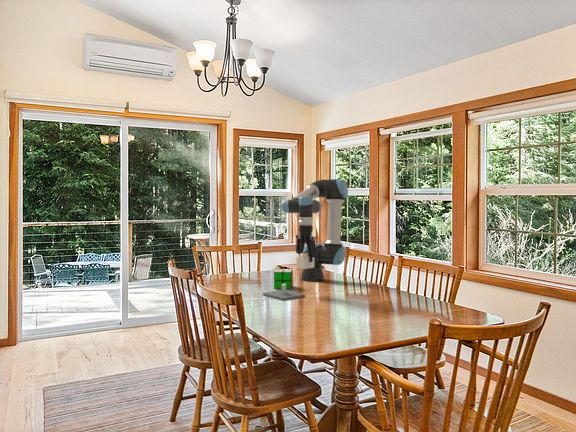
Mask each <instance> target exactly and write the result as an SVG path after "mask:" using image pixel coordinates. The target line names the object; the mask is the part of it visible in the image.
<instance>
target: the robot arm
mask: <svg viewBox="0 0 576 432" xmlns="http://www.w3.org/2000/svg"><path fill="white" fill-rule="evenodd" d="M348 195H349V187H348V185H347V181H345V180H344V179H341V178H340V179H339V178H337V179H336V178H335V179H331V178H330V179H329V178H327V179H319V180H316V181H314V182H311V183H310V184H308V185H306V187H305V189H304V190H302V191H301V192H299V193H298V194H297V195H296V196H294V197H293V198H291V199H284V200H283V201H282V202H281V210H282V212H283V213H284V214H298V232H299V234H296V235H295V239H296V242H295V243H296V244H295V247H296V248H295V253H296V254H298V258H299V257H300V254H301V253H308V256H307V269H302V272H301V275H300V280H301V281H306V282H322V281H324V280H325V275H324V272H323V267H322V265H331V266H332V265H333V266H340V265H342V264H343V262H344V261H345V257H346V248H345V246H343V242H342V241H341V234H342V233H341V231H342V214H343V213H342V210H343V207H342V206H343V203H344V202H345V199H346V198H348ZM317 198H323V199H325V200H326V202H327V204H328V205H327V209H328V210H327V225H326V226H327V227H326V229H327V230H326V241H325V242H324V243H322V242H319V243H318V242H317V243H316V239H317V237H316V236H313V234H312V233H313V230H314V225H313V224H314V222H313V221H314V219H313V218H314V215H313V214H318V213H320V212H321V210H322V204H321V201H319V200H316V199H317ZM313 258H314V268H312V261H313Z"/></svg>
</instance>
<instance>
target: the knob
mask: <svg viewBox="0 0 576 432" xmlns="http://www.w3.org/2000/svg"><path fill="white" fill-rule="evenodd" d="M307 256H308V253H304V252H303V253H301V254H300V257H299V256H298V257H296V269H302V270H303V269H307ZM312 268H314V258H313V261H312Z"/></svg>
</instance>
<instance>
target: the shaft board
mask: <svg viewBox="0 0 576 432" xmlns="http://www.w3.org/2000/svg"><path fill="white" fill-rule="evenodd" d="M262 296H265V297H268V298H272V299H275V300H279V301H289V300H296V299H301V298H305V297H306V294H304V293H301V292H295V291H292V290H289V289H286V284H282V289H278V290H273V291H266V292H262Z"/></svg>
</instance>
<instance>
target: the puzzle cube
mask: <svg viewBox="0 0 576 432" xmlns="http://www.w3.org/2000/svg"><path fill="white" fill-rule="evenodd" d="M273 280H274V281H273V289H274V290H282V284H286V290H291V289H293V286H294V270H293V269H280V268H279V269H275V271H274V272H273Z"/></svg>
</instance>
